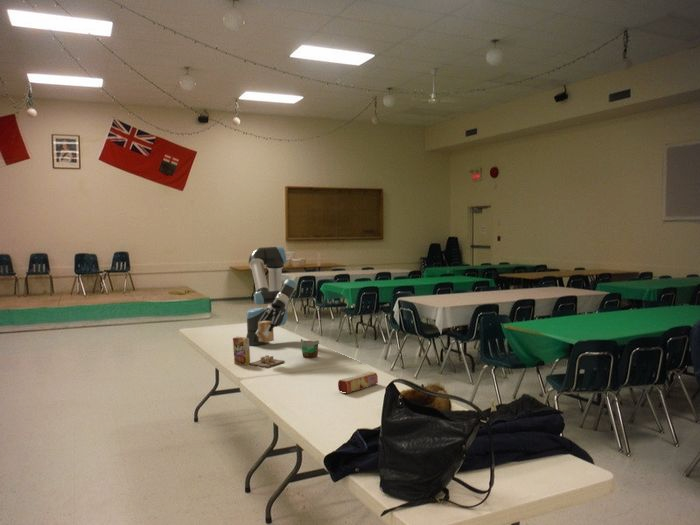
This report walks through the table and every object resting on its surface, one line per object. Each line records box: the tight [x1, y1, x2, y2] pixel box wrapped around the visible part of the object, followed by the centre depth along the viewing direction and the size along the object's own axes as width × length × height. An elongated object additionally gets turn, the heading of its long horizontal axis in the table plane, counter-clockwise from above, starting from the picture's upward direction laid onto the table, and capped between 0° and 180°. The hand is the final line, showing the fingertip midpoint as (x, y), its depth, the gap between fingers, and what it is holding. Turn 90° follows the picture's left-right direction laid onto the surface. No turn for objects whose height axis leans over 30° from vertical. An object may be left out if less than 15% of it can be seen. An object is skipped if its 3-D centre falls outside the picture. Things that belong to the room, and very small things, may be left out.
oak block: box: [258, 321, 275, 343], centre depth 312 cm, size 6×6×11 cm
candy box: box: [232, 336, 251, 366], centre depth 315 cm, size 9×4×15 cm, turn 60°
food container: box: [299, 338, 320, 359], centre depth 325 cm, size 12×6×10 cm, turn 62°
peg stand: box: [248, 355, 286, 369], centre depth 313 cm, size 14×14×4 cm
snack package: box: [337, 371, 379, 394], centre depth 261 cm, size 21×7×7 cm, turn 133°
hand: (261, 335), depth 309 cm, fingers closed on oak block, 6 cm apart
